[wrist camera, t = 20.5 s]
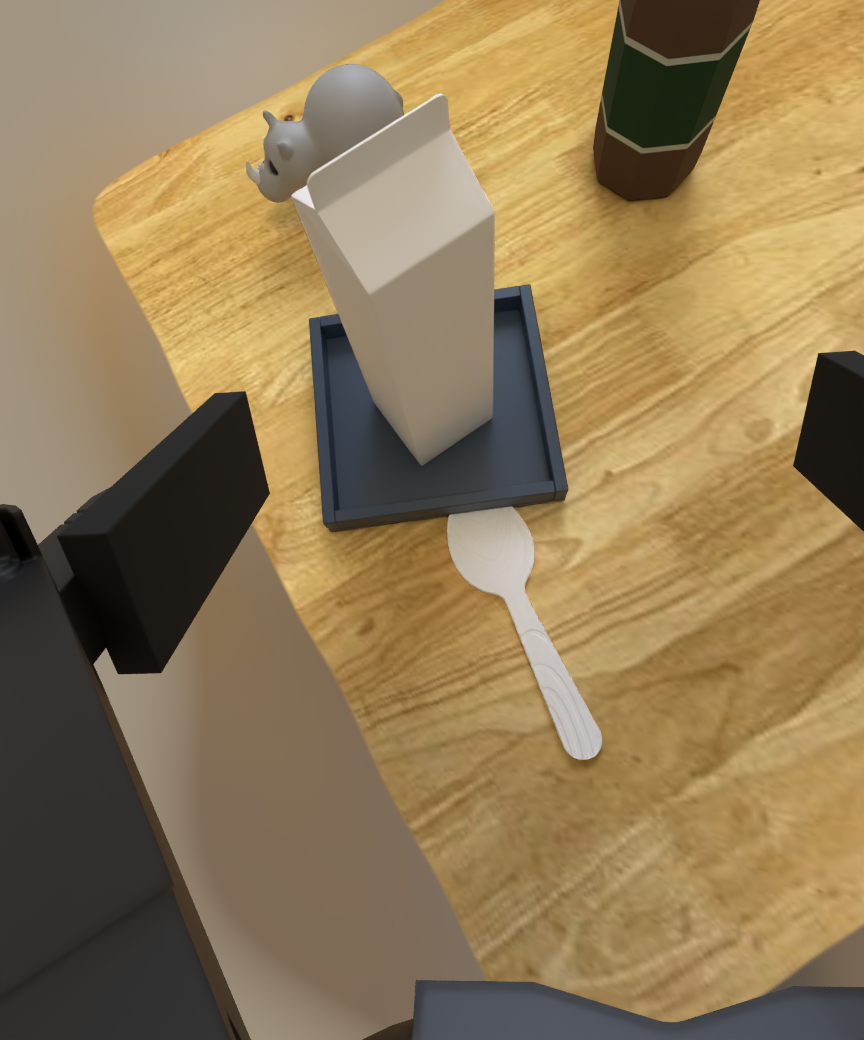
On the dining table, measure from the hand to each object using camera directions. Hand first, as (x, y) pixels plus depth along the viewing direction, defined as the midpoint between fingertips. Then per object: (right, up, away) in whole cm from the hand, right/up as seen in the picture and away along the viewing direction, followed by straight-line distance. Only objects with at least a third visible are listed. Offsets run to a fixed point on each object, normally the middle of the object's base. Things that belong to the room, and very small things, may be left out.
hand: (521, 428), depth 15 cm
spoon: (+4, -8, +24) cm, 26 cm away
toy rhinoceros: (-9, +24, +34) cm, 43 cm away
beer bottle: (+14, +25, +32) cm, 43 cm away
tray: (-2, +5, +28) cm, 29 cm away
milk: (-2, +5, +28) cm, 29 cm away
